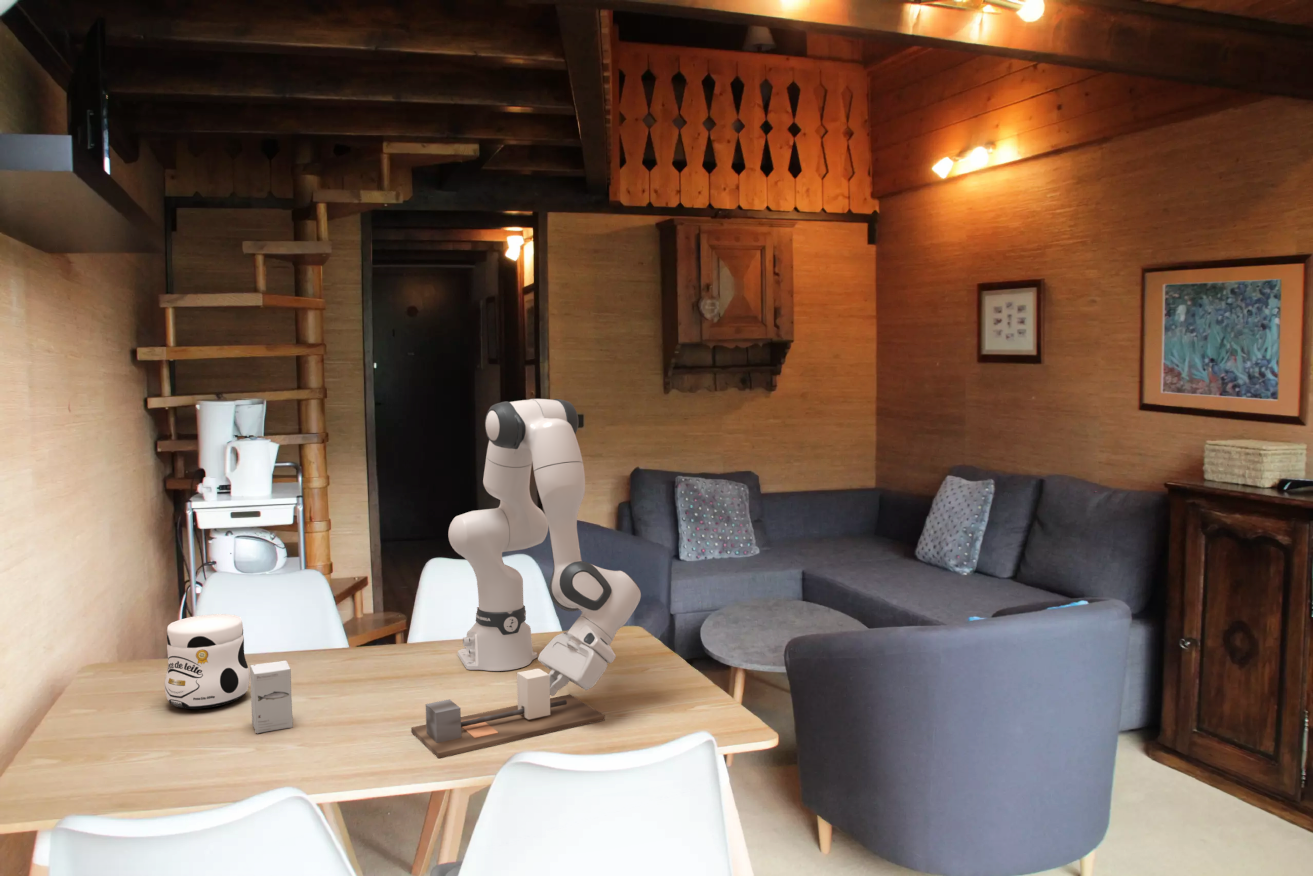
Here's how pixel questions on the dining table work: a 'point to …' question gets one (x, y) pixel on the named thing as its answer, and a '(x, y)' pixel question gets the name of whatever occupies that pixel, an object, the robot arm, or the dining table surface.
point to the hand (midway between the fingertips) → (547, 692)
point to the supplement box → (271, 696)
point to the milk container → (206, 661)
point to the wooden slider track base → (496, 725)
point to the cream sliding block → (533, 693)
